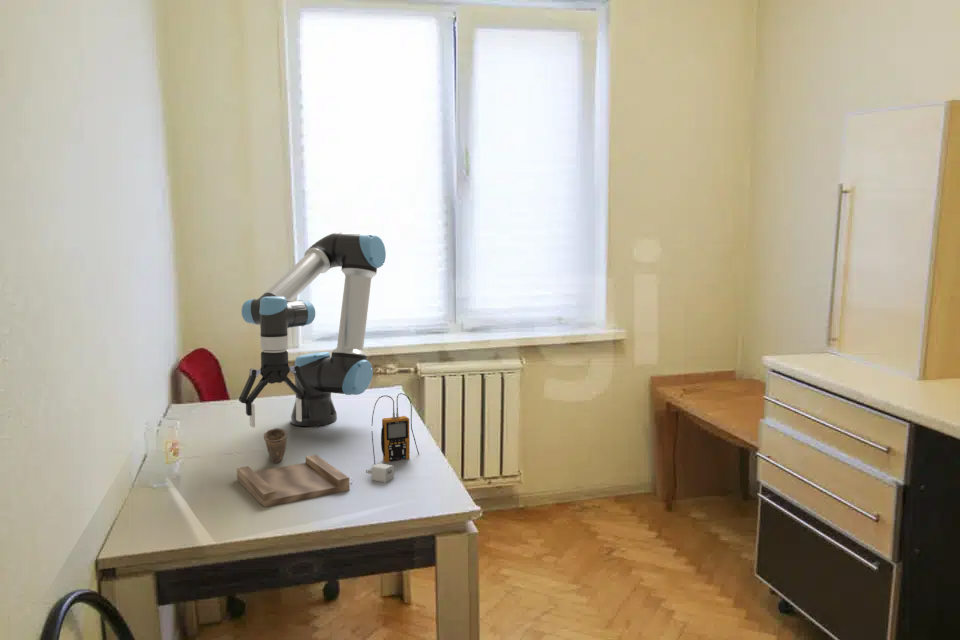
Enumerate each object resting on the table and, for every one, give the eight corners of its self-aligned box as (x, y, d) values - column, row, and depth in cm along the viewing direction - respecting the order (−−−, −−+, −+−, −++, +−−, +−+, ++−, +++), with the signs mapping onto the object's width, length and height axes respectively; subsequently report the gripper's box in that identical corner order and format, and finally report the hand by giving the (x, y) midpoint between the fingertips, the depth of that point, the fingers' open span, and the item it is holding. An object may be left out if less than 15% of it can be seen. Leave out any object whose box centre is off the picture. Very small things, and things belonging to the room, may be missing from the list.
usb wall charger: (385, 483, 201) (385, 468, 200) (364, 479, 204) (363, 465, 204) (394, 479, 204) (393, 464, 204) (372, 475, 208) (372, 461, 207)
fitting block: (316, 466, 216) (315, 454, 215) (349, 490, 196) (349, 477, 195) (237, 480, 204) (236, 468, 204) (264, 507, 184) (263, 493, 183)
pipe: (291, 450, 231) (290, 418, 230) (287, 467, 215) (286, 432, 214) (269, 451, 230) (268, 419, 229) (263, 468, 214) (262, 433, 213)
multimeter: (380, 474, 208) (378, 402, 206) (370, 464, 217) (368, 395, 215) (431, 467, 214) (430, 397, 211) (419, 458, 223) (418, 391, 221)
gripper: (311, 346, 228) (313, 415, 230) (226, 352, 215) (228, 426, 217) (320, 349, 222) (322, 420, 224) (233, 355, 208) (235, 431, 211)
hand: (276, 423), depth 220 cm, fingers open, 13 cm apart
